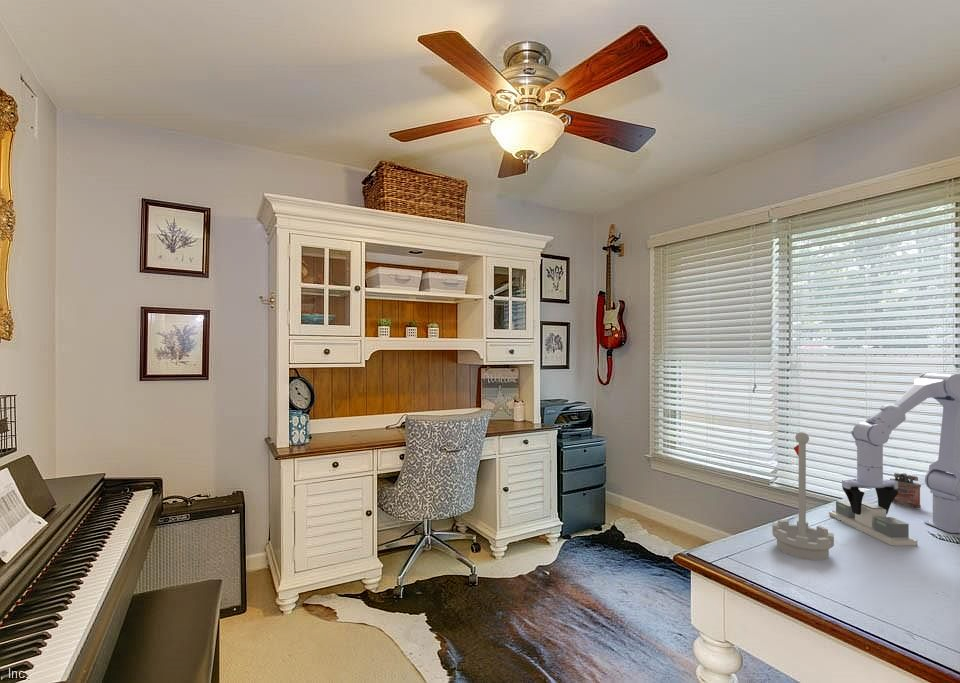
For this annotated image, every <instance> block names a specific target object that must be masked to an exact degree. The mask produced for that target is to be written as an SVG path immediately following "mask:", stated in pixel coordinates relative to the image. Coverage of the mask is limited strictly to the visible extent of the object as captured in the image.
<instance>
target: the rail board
mask: <svg viewBox="0 0 960 683" xmlns="http://www.w3.org/2000/svg"><path fill="white" fill-rule="evenodd" d="M829 515H831V516H833V517H832V518H834V517H835V518H834V519H836V518H837V519H836V520H838V519H839V520H838V521H840V520H841V521H840V522H842V521H843V522H842V523H844V522H845V523H844V524H846V523H847V524H846V525H848V524H849V525H848V526H850V525H851V526H850V527H852V526H853V527H852V528H854V527H855V528H854V529H856V528H857V529H856V530H858V531H860V532H862V533H865V534H867V535H869V536H870V537H873V538H875V539H877V540H879V541H881V542H883V543H885V544H887V545H889V546H918V540H917V539H914V538H913V537H910V536H909V535H910V534H909V529H910V528H909V525H910V524H909V523H908V522H904V521H903V520H900V519H897V518H895V517H893V516H888V517H887V516H886V517H874V528H871V527H869V526H866V525H864V524H862V523H860V522H858V521H856V520H855V513H853V512H852V508H851V505H850V502H849V499H848V500H835V510H832V511H831V510H830V511H828V516H829ZM831 516H830V517H831Z"/></svg>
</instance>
